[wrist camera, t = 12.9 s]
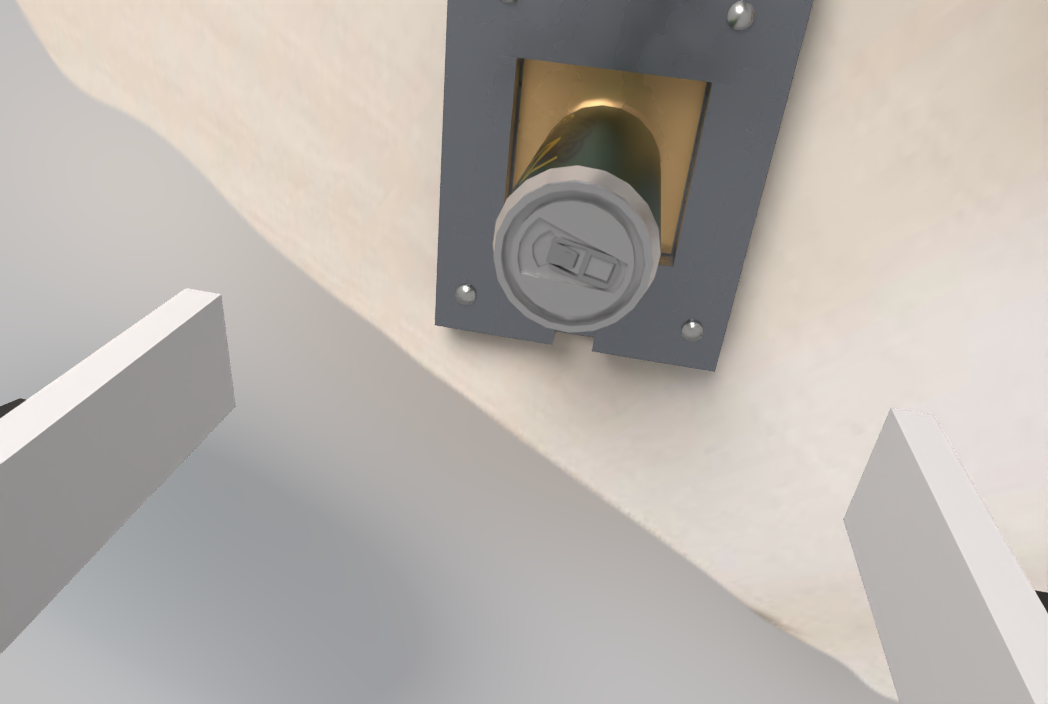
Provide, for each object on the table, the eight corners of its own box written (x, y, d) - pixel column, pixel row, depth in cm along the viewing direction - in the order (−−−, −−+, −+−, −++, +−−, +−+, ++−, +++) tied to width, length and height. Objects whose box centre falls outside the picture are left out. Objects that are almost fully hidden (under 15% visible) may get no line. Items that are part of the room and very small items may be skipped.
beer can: (680, 126, 31) (690, 211, 21) (634, 237, 34) (622, 361, 23) (564, 84, 31) (514, 147, 21) (526, 198, 34) (466, 305, 23)
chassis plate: (463, -90, 29) (450, -93, 27) (816, -52, 28) (828, -52, 26) (445, 308, 38) (433, 326, 36) (712, 352, 37) (715, 373, 35)
